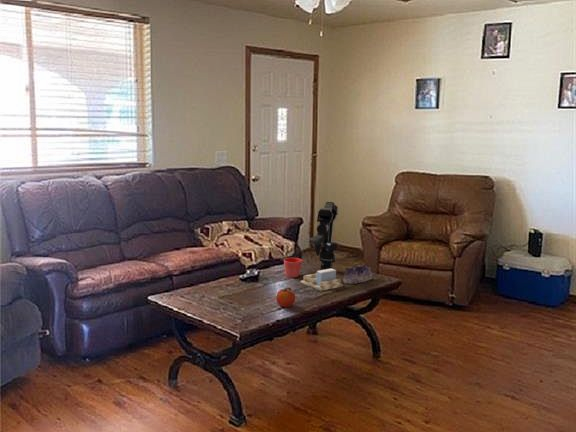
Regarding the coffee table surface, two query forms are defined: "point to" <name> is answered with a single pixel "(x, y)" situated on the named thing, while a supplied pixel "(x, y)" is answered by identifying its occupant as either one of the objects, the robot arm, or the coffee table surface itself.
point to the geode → (357, 275)
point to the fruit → (285, 297)
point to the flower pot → (292, 266)
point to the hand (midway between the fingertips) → (322, 257)
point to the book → (325, 275)
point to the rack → (325, 285)
